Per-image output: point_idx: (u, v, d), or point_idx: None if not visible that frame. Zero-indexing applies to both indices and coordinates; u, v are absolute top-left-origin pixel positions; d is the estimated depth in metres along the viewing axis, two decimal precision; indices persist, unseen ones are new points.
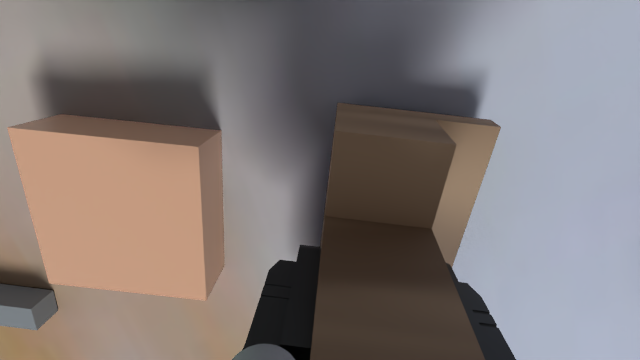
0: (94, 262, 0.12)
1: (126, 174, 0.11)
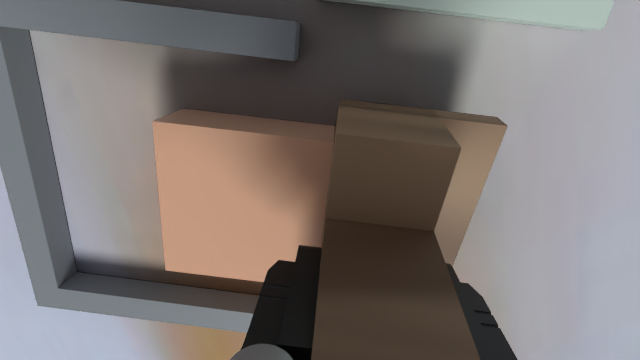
0: (213, 250, 0.13)
1: (260, 167, 0.11)
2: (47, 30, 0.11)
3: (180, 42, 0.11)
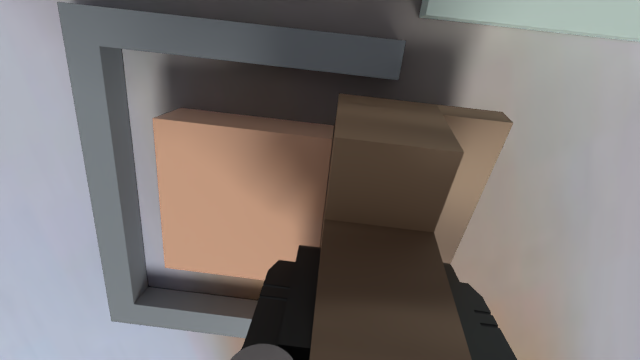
0: (213, 248, 0.13)
1: (259, 164, 0.11)
2: (149, 50, 0.11)
3: (284, 61, 0.11)
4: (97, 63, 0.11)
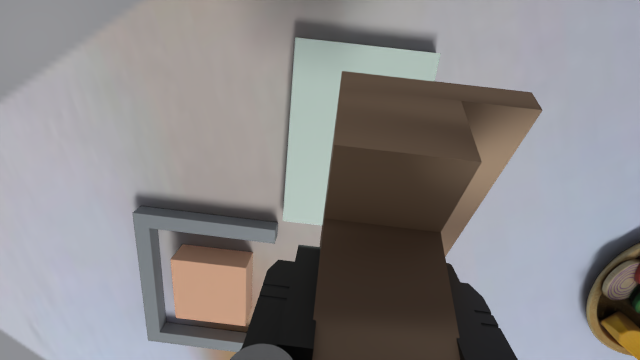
0: (197, 309, 0.28)
1: (216, 277, 0.27)
2: (170, 230, 0.26)
3: (226, 235, 0.26)
4: (148, 233, 0.27)
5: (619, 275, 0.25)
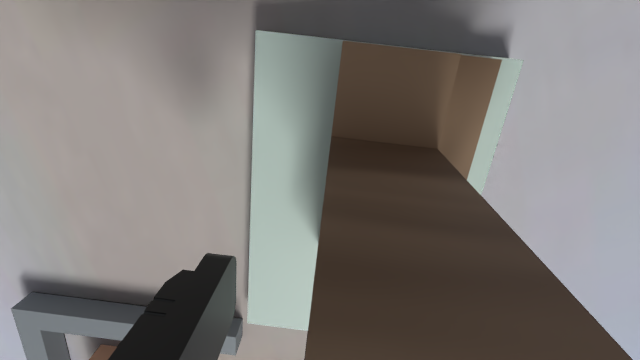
0: None
1: None
2: (73, 333, 0.17)
3: None
4: (39, 337, 0.17)
5: None
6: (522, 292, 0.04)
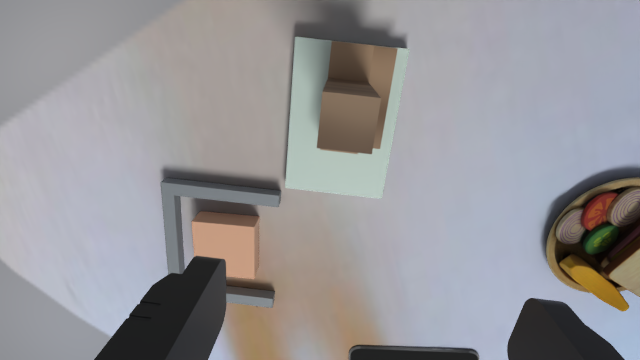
0: None
1: (229, 235, 0.32)
2: (191, 196, 0.32)
3: (238, 201, 0.32)
4: (173, 200, 0.32)
5: (567, 221, 0.30)
6: (366, 91, 0.19)
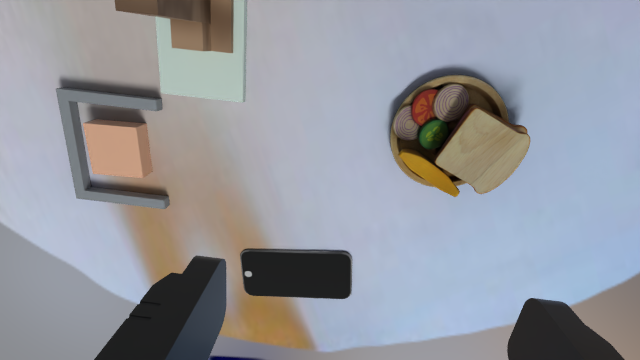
0: (107, 165, 0.39)
1: (116, 136, 0.38)
2: (83, 102, 0.37)
3: (123, 105, 0.37)
4: (68, 105, 0.37)
5: (399, 117, 0.35)
6: None
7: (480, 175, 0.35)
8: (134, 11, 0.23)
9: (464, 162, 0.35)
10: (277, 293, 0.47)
